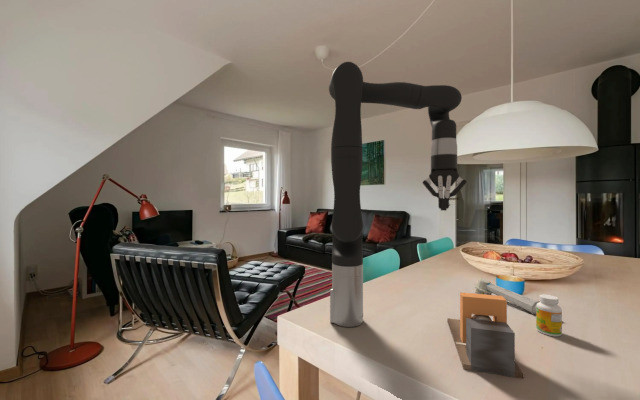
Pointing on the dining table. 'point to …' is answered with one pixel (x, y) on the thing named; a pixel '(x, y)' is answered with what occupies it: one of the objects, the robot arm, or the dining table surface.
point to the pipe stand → (486, 346)
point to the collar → (481, 309)
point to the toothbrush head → (506, 295)
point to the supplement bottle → (549, 316)
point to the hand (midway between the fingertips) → (443, 210)
